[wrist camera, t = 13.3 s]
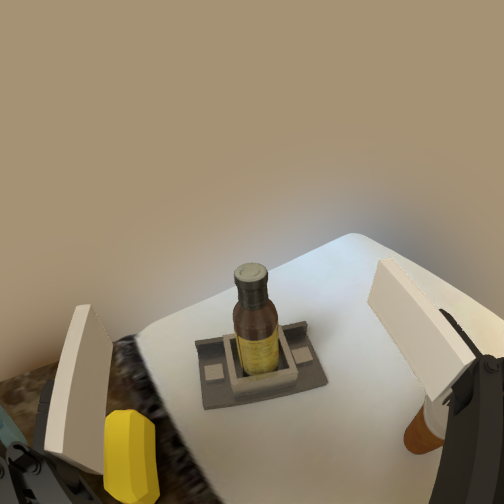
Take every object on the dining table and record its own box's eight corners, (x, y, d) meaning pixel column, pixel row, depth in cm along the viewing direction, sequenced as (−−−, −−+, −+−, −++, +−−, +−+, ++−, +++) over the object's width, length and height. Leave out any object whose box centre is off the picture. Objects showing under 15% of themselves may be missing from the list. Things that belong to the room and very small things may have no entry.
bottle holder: (204, 409, 38) (197, 395, 35) (199, 353, 48) (193, 335, 45) (326, 384, 41) (331, 368, 38) (304, 333, 51) (306, 315, 48)
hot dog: (117, 509, 21) (166, 513, 22) (93, 503, 18) (148, 510, 19) (116, 414, 36) (157, 413, 37) (98, 395, 33) (143, 394, 34)
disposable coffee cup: (412, 403, 34) (443, 363, 28) (452, 426, 28) (492, 390, 22) (383, 447, 29) (416, 416, 23) (427, 472, 23) (471, 447, 17)
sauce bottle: (286, 370, 43) (290, 275, 32) (254, 388, 40) (243, 297, 29) (264, 346, 47) (259, 252, 37) (234, 362, 45) (216, 268, 34)
